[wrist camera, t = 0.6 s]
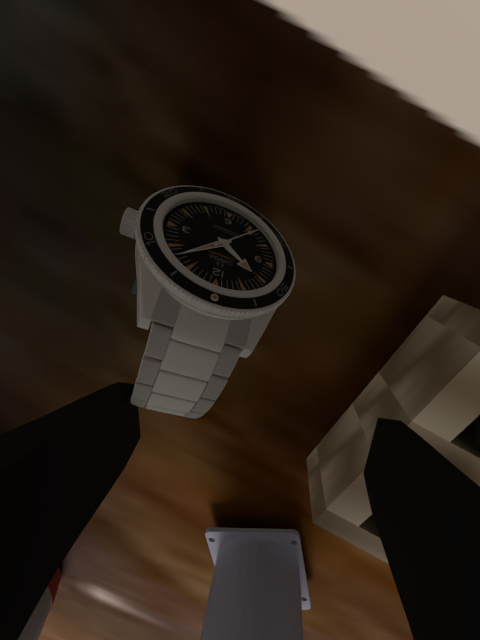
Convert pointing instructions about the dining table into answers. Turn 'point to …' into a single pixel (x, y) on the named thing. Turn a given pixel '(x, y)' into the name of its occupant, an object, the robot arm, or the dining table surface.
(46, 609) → the citrus juicer
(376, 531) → the press block
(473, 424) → the steel peg
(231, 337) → the watch
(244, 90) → the dining table surface
